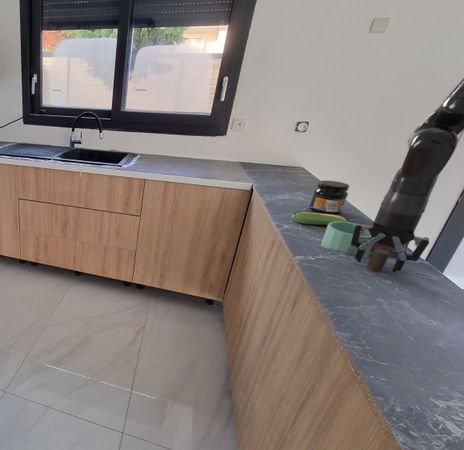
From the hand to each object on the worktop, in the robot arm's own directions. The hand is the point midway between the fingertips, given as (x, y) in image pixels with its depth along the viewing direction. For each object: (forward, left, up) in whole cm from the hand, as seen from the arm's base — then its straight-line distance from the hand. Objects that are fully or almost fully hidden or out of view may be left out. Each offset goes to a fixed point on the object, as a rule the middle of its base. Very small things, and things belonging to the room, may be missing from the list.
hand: (375, 265), depth 84 cm
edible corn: (+17, -31, -3) cm, 35 cm away
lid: (0, 0, -2) cm, 2 cm away
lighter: (-1, -19, -3) cm, 19 cm away
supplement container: (+20, -48, -3) cm, 52 cm away
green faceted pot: (+8, -12, -3) cm, 15 cm away
